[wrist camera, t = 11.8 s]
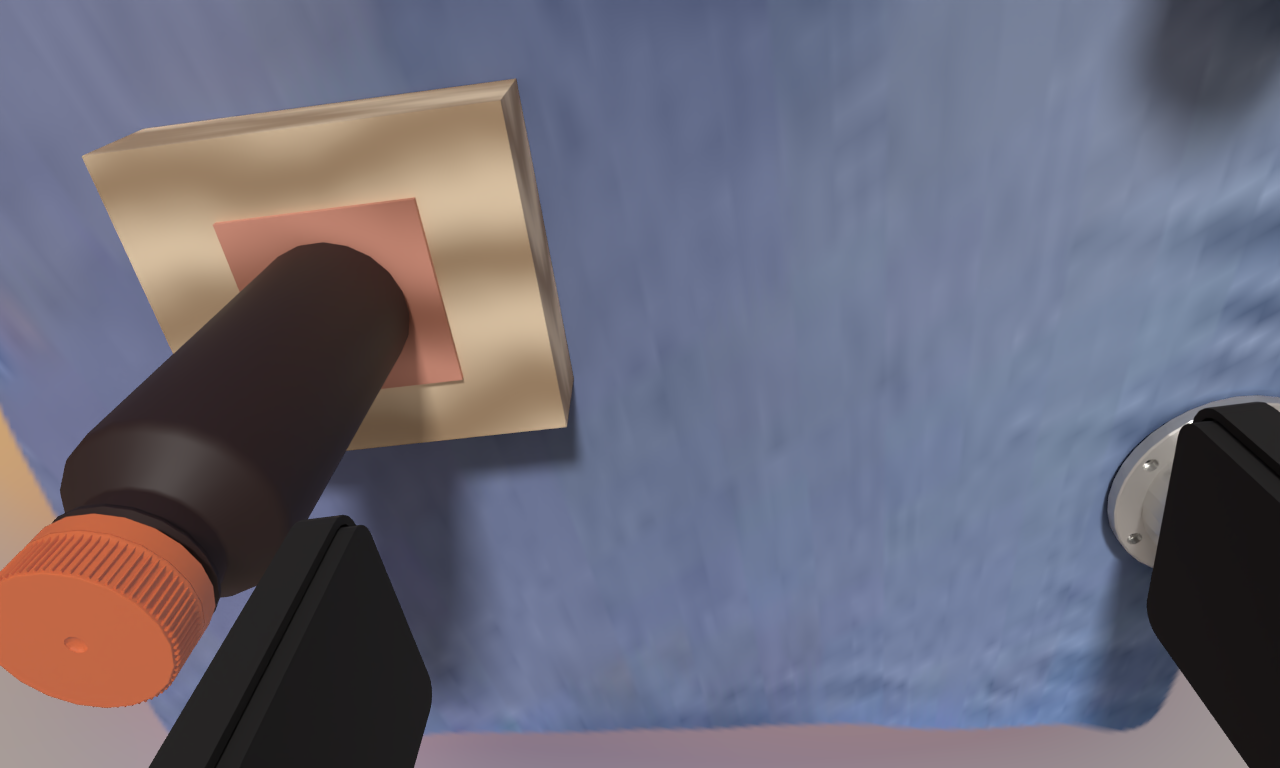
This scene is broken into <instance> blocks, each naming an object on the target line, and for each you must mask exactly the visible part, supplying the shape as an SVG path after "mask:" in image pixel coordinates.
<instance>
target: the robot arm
mask: <svg viewBox="0 0 1280 768" xmlns="http://www.w3.org/2000/svg"><path fill="white" fill-rule="evenodd" d="M1107 513H1108V518H1109V523H1110V527H1111V529H1112V530H1113V532H1114V534H1115V536H1116V538H1117V539H1118V541H1119V542H1120V543H1121V544H1122V546H1123V547H1124V548H1125V550H1126V551H1127V552H1128V553H1129V554H1130V555H1132V556H1133V557H1134V558H1135V559H1136V560H1138V561H1139V562H1141V563H1143V564H1145V565H1147V566H1149V567H1151V568H1153V572H1152V577H1151V582H1150V588H1149V593H1148V598H1147V613H1148V617H1149V621H1150V624H1151V626H1152V629H1153V631H1154V633H1155V634H1156V636H1157V638H1158V639H1159V640H1160V642H1161V643H1162V645H1163V646H1164V648H1165V649H1166V650H1167V652H1168V653H1169V655H1170V656H1171V657H1172V659H1173V660H1174V662H1175V663H1176V665H1177V666H1178V667H1179V669H1180V670H1181V672H1182V673H1183V674H1184V676H1185V677H1186V679H1187V680H1188V681H1189V683H1190V684H1191V686H1192V687H1193V689H1194V690H1195V691H1196V693H1197V694H1198V696H1199V697H1200V699H1201V700H1202V701H1203V703H1204V704H1205V706H1206V707H1207V709H1208V710H1209V711H1210V713H1211V714H1212V716H1213V717H1214V718H1215V720H1216V721H1217V723H1218V724H1219V726H1220V727H1221V728H1222V730H1223V731H1224V733H1225V734H1226V736H1227V737H1228V738H1229V740H1230V741H1231V743H1232V744H1233V745H1234V747H1235V748H1236V750H1237V751H1238V753H1239V754H1240V755H1241V757H1242V758H1243V760H1244V761H1245V762H1246V764H1247V765H1248V767H1249V768H1280V398H1279V397H1270V396H1260V395H1254V396H1239V397H1232V398H1227V399H1223V400H1218V401H1214V402H1211V403H1208V404H1205V405H1202V406H1200V407H1197V408H1194V409H1191V410H1189V411H1187V412H1185V413H1183V414H1182V415H1180V416H1178V417H1176V418H1174V419H1172V420H1170V421H1169V422H1167V423H1166V424H1164V425H1163V426H1161V427H1160V428H1158V429H1157V430H1156V431H1154V432H1153V433H1151V434H1150V435H1149V436H1148V437H1147V438H1146V439H1145V440H1144V441H1143V442H1141V443H1140V444H1139V445H1138V446H1137V447H1136V448H1135V449H1134V450H1133V452H1132V453H1131V454H1130V455H1129V457H1128V458H1127V459H1126V460H1125V462H1124V463H1123V464H1122V466H1121V468H1120V470H1119V471H1118V473H1117V475H1116V477H1115V479H1114V480H1113V484H1112V487H1111V490H1110V493H1109V496H1108V509H1107ZM431 702H432V687H431V681H430V677H429V674H428V672H427V670H426V667H425V665H424V662H423V660H422V657H421V655H420V652H419V650H418V648H417V645H416V643H415V640H414V638H413V635H412V633H411V631H410V628H409V626H408V623H407V621H406V618H405V616H404V613H403V611H402V609H401V606H400V604H399V601H398V599H397V596H396V594H395V591H394V589H393V587H392V584H391V582H390V579H389V577H388V574H387V572H386V570H385V567H384V565H383V562H382V560H381V557H380V555H379V552H378V550H377V548H376V545H375V543H374V540H373V538H372V535H371V533H370V531H369V530H368V528H367V527H365V526H364V525H357V526H356V525H355V523H354V521H353V520H352V519H351V518H350V517H349V516H346V515H339V516H331V517H323V518H315V519H307V520H301V521H298V522H296V523H295V524H294V525H293V526H292V528H291V529H290V531H289V532H288V534H287V536H286V537H285V539H284V541H283V542H282V544H281V546H280V548H279V549H278V551H277V553H276V554H275V556H274V558H273V559H272V561H271V563H270V564H269V566H268V568H267V569H266V571H265V573H264V574H263V576H262V578H261V579H260V581H259V583H258V585H257V586H256V588H255V590H254V591H253V593H252V595H251V596H250V598H249V600H248V601H247V603H246V605H245V606H244V608H243V610H242V611H241V613H240V615H239V616H238V618H237V620H236V622H235V623H234V625H233V627H232V628H231V630H230V632H229V633H228V635H227V637H226V638H225V640H224V642H223V643H222V645H221V647H220V648H219V650H218V652H217V653H216V655H215V657H214V659H213V660H212V662H211V664H210V665H209V667H208V669H207V670H206V672H205V674H204V675H203V677H202V679H201V680H200V682H199V684H198V685H197V687H196V689H195V690H194V692H193V694H192V695H191V697H190V699H189V701H188V702H187V704H186V706H185V707H184V709H183V711H182V712H181V714H180V716H179V717H178V719H177V721H176V722H175V724H174V726H173V727H172V729H171V731H170V732H169V734H168V736H167V738H166V739H165V741H164V743H163V744H162V746H161V748H160V749H159V751H158V753H157V755H156V756H155V758H154V759H153V761H152V763H151V765H150V766H149V768H414V765H415V762H416V758H417V754H418V751H419V748H420V744H421V740H422V737H423V733H424V730H425V726H426V723H427V719H428V716H429V712H430V708H431Z"/></svg>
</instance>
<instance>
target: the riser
mask: <svg viewBox="0 0 1280 768" xmlns="http://www.w3.org/2000/svg"><path fill="white" fill-rule="evenodd" d="M82 158H83V160H84V162H85V164H86V167H87V169H88V171H89V173H90V175H91V177H92V179H93V182H94V184H95V186H96V188H97V190H98V192H99V195H100V197H101V199H102V201H103V203H104V205H105V208H106V210H107V212H108V214H109V216H110V218H111V221H112V223H113V225H114V227H115V229H116V231H117V234H118V236H119V238H120V240H121V242H122V244H123V246H124V249H125V251H126V253H127V255H128V257H129V259H130V262H131V264H132V266H133V268H134V270H135V272H136V275H137V277H138V279H139V281H140V283H141V285H142V288H143V290H144V292H145V294H146V296H147V298H148V300H149V303H150V305H151V307H152V309H153V311H154V313H155V316H156V318H157V320H158V322H159V324H160V326H161V329H162V331H163V333H164V335H165V337H166V339H167V342H168V344H169V346H170V348H171V350H172V352H173V354H174V353H175V352H176V351H177V350H178V349H179V348H180V347H181V346H182V345H184V344H185V343H186V342H187V341H188V340H189V339H190V338H191V337H192V336H193V335H194V334H195V333H196V332H198V331H199V330H200V329H201V328H202V327H203V326H204V325H205V324H206V323H207V322H208V321H209V320H210V319H212V318H213V317H214V316H215V315H216V314H217V313H218V312H219V311H220V310H221V309H222V308H223V307H224V306H225V305H227V304H228V303H229V302H230V301H231V300H232V299H233V298H234V297H235V296H236V295H237V294H238V293H239V292H241V291H242V290H243V289H244V288H245V287H246V286H247V285H248V284H249V283H250V282H251V281H252V280H253V279H254V278H256V277H257V276H258V275H259V274H260V273H261V272H262V271H263V270H264V269H265V268H266V267H267V266H268V265H270V264H271V263H272V262H273V261H274V260H275V259H276V258H277V257H278V256H280V255H282V254H284V253H285V252H287V251H289V250H291V249H293V248H295V247H297V246H300V245H307V244H314V243H321V242H325V243H332V244H338V245H344V246H348V247H351V248H353V249H355V250H357V251H359V252H362V253H364V254H366V255H368V256H370V257H371V258H373V259H374V260H375V261H376V262H377V263H379V264H380V265H381V266H382V267H383V268H385V269H386V270H387V271H388V272H389V273H390V274H391V276H392V277H393V279H394V280H395V281H396V283H397V284H398V286H399V287H400V289H401V290H402V292H403V295H404V298H405V301H406V304H407V307H408V310H409V335H408V338H407V340H406V342H405V345H404V347H403V350H402V352H401V354H400V356H399V358H398V359H397V361H396V363H395V365H394V366H393V368H392V370H391V372H390V374H389V375H388V377H387V379H386V381H385V382H384V384H383V386H382V388H381V390H380V391H379V393H378V395H377V397H376V398H375V400H374V402H373V404H372V406H371V407H370V409H369V411H368V413H367V414H366V416H365V418H364V420H363V422H362V423H361V425H360V427H359V429H358V431H357V432H356V434H355V436H354V438H353V439H352V441H351V443H350V445H349V447H348V448H347V450H346V451H348V450H358V449H367V448H376V447H386V446H395V445H404V444H413V443H423V442H432V441H441V440H450V439H460V438H469V437H478V436H488V435H497V434H506V433H515V432H525V431H534V430H543V429H553V428H562V427H567V422H568V415H569V408H570V400H571V393H572V386H573V379H574V378H573V372H572V367H571V362H570V357H569V352H568V346H567V341H566V336H565V331H564V325H563V320H562V315H561V310H560V305H559V299H558V294H557V289H556V284H555V279H554V273H553V268H552V263H551V258H550V252H549V247H548V242H547V237H546V232H545V226H544V221H543V216H542V211H541V206H540V200H539V195H538V190H537V185H536V179H535V174H534V169H533V164H532V159H531V153H530V148H529V143H528V138H527V133H526V127H525V122H524V117H523V112H522V107H521V101H520V96H519V91H518V86H517V80H516V79H510V80H503V81H495V82H488V83H480V84H473V85H465V86H458V87H451V88H443V89H436V90H428V91H421V92H414V93H406V94H399V95H391V96H384V97H376V98H369V99H362V100H354V101H347V102H339V103H332V104H324V105H317V106H310V107H302V108H295V109H287V110H280V111H272V112H265V113H258V114H250V115H243V116H235V117H228V118H221V119H213V120H206V121H198V122H191V123H183V124H176V125H169V126H161V127H154V128H146V129H142V130H140V131H138V132H135V133H133V134H131V135H128V136H126V137H124V138H122V139H119V140H117V141H115V142H113V143H110V144H108V145H106V146H104V147H101V148H99V149H97V150H95V151H92V152H90V153H88V154H85V155H83V156H82Z"/></svg>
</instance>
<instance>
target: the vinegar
mask: <svg viewBox="0 0 1280 768" xmlns="http://www.w3.org/2000/svg"><path fill="white" fill-rule="evenodd" d="M408 335H409V310H408V307H407V304H406V301H405V298H404V295H403V292H402V290H401V289H400V287H399V286H398V284H397V283H396V281H395V280H394V279H393V277H392V276H391V274H390V273H389V272H388V271H387V270H386V269H385V268H383V267H382V266H381V265H380V264H379V263H377V262H376V261H375V260H374V259H373V258H371V257H370V256H368V255H366V254H364V253H362V252H359V251H357V250H355V249H353V248H351V247H348V246H344V245H338V244H332V243H325V242H321V243H314V244H307V245H300V246H297V247H295V248H293V249H291V250H289V251H287V252H285V253H284V254H282V255H280V256H278V257H277V258H276V259H275V260H274V261H273V262H272V263H271V264H270V265H268V266H267V267H266V268H265V269H264V270H263V271H262V272H261V273H260V274H259V275H258V276H257V277H256V278H254V279H253V280H252V281H251V282H250V283H249V284H248V285H247V286H246V287H245V288H244V289H243V290H242V291H241V292H239V293H238V294H237V295H236V296H235V297H234V298H233V299H232V300H231V301H230V302H229V303H228V304H227V305H225V306H224V307H223V308H222V309H221V310H220V311H219V312H218V313H217V314H216V315H215V316H214V317H213V318H212V319H210V320H209V321H208V322H207V323H206V324H205V325H204V326H203V327H202V328H201V329H200V330H199V331H198V332H196V333H195V334H194V335H193V336H192V337H191V338H190V339H189V340H188V341H187V342H186V343H185V344H184V345H182V346H181V347H180V348H179V349H178V350H177V351H176V352H175V353H174V354H173V355H172V356H171V357H170V358H169V359H167V360H166V361H165V362H164V363H163V364H162V365H161V366H160V367H159V368H158V369H157V370H156V371H155V372H153V373H152V374H151V375H150V376H149V377H148V378H147V379H146V380H145V381H144V382H143V383H142V384H141V385H140V386H138V387H137V388H136V389H135V390H134V391H133V392H132V393H131V394H130V395H129V396H128V397H127V398H126V399H124V400H123V401H122V402H121V403H120V404H119V405H118V406H117V407H116V408H115V409H114V410H113V411H112V412H111V413H109V414H108V415H107V416H106V417H105V418H104V419H103V420H102V421H101V422H100V423H99V424H98V425H97V426H95V427H94V428H93V429H92V430H91V431H90V432H89V433H88V434H87V435H86V436H85V438H84V439H83V440H82V441H81V442H80V444H79V445H78V446H77V447H76V449H75V450H74V451H73V452H72V454H71V455H70V456H69V457H68V459H67V460H66V464H65V468H64V473H63V478H62V483H61V488H60V493H61V498H62V502H63V507H64V511H65V513H64V514H62V515H60V516H58V517H57V518H56V519H55V520H54V521H53V522H52V524H50V525H48V526H46V527H44V528H43V529H42V530H41V531H40V532H39V533H38V534H37V535H36V536H35V537H34V538H33V539H32V540H31V542H30V543H29V544H27V546H26V547H25V548H24V549H23V550H22V551H20V552H19V553H18V554H17V555H16V556H15V557H14V558H13V559H12V561H11V562H10V563H8V564H7V566H6V567H5V568H4V569H3V570H2V571H1V572H0V666H2V667H3V668H4V669H6V670H7V671H8V672H9V673H10V674H12V675H13V676H14V677H16V678H17V679H18V680H19V681H21V682H22V683H24V684H26V685H28V686H30V687H32V688H34V689H36V690H38V691H40V692H42V693H44V694H46V695H48V696H51V697H54V698H58V699H60V700H64V701H68V702H71V703H74V704H78V705H85V706H93V707H102V708H103V707H104V708H111V707H120V706H125V707H126V706H130V705H132V706H133V705H134V704H137V703H138V704H140V703H141V702H142V701H144V702H147V700H148V699H151V700H152V699H153V697H154V696H156V697H158V695H159V694H160V693H163V692H164V690H167V688H168V687H169V686H170V685H171V684H172V682H173V681H174V679H175V678H176V676H177V675H178V673H179V671H180V670H181V668H182V667H183V665H184V663H185V662H186V660H187V658H188V657H189V655H190V654H191V652H192V650H193V649H194V647H195V646H196V644H197V643H198V641H199V640H200V638H201V636H202V635H203V633H204V631H205V630H206V628H207V627H208V625H209V623H210V620H211V617H212V615H213V613H214V612H215V610H216V607H217V604H218V601H219V599H220V597H229V596H233V595H235V594H238V593H240V592H243V591H245V590H247V589H250V588H252V587H255V586H257V585H258V583H259V581H260V579H261V578H262V576H263V574H264V573H265V571H266V569H267V568H268V566H269V564H270V563H271V561H272V559H273V558H274V556H275V554H276V553H277V551H278V549H279V548H280V546H281V544H282V542H283V541H284V539H285V537H286V536H287V534H288V532H289V531H290V529H291V528H292V526H293V525H294V524H295V523H296V522H298V521H301V520H307V519H308V518H309V516H310V514H311V512H312V511H313V509H314V507H315V505H316V503H317V502H318V500H319V498H320V496H321V495H322V493H323V491H324V489H325V487H326V486H327V484H328V482H329V480H330V479H331V477H332V475H333V473H334V471H335V470H336V468H337V466H338V464H339V463H340V461H341V459H342V457H343V455H344V454H345V452H346V450H347V448H348V447H349V445H350V443H351V441H352V439H353V438H354V436H355V434H356V432H357V431H358V429H359V427H360V425H361V423H362V422H363V420H364V418H365V416H366V414H367V413H368V411H369V409H370V407H371V406H372V404H373V402H374V400H375V398H376V397H377V395H378V393H379V391H380V390H381V388H382V386H383V384H384V382H385V381H386V379H387V377H388V375H389V374H390V372H391V370H392V368H393V366H394V365H395V363H396V361H397V359H398V358H399V356H400V354H401V352H402V350H403V347H404V345H405V342H406V340H407V338H408Z"/></svg>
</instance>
